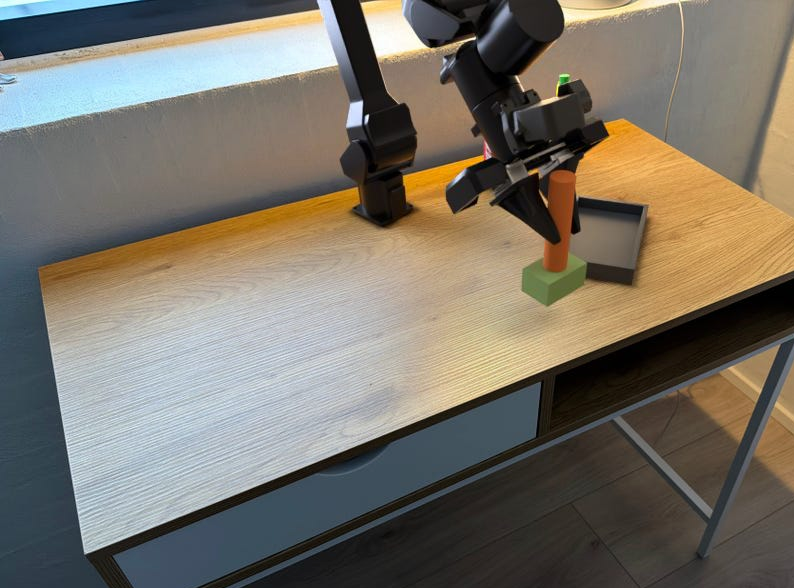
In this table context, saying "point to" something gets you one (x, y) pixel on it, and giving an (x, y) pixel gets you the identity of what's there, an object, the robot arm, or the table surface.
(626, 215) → the tray
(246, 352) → the table surface
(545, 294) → the sponge brush
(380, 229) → the table surface
